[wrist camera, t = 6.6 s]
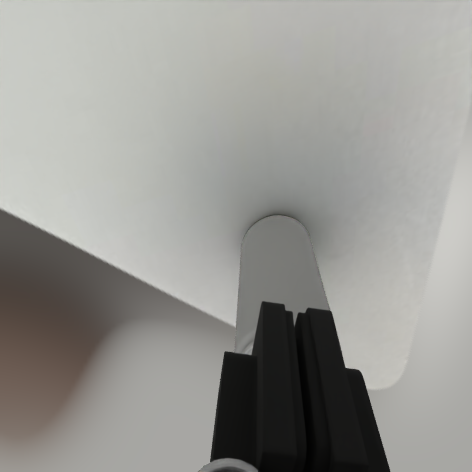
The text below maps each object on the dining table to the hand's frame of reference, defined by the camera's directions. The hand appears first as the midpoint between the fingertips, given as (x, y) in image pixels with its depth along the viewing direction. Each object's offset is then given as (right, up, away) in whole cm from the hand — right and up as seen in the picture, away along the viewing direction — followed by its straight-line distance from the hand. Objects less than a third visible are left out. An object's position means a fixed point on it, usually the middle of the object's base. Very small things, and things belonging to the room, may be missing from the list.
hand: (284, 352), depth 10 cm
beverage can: (+2, +2, +18) cm, 19 cm away
